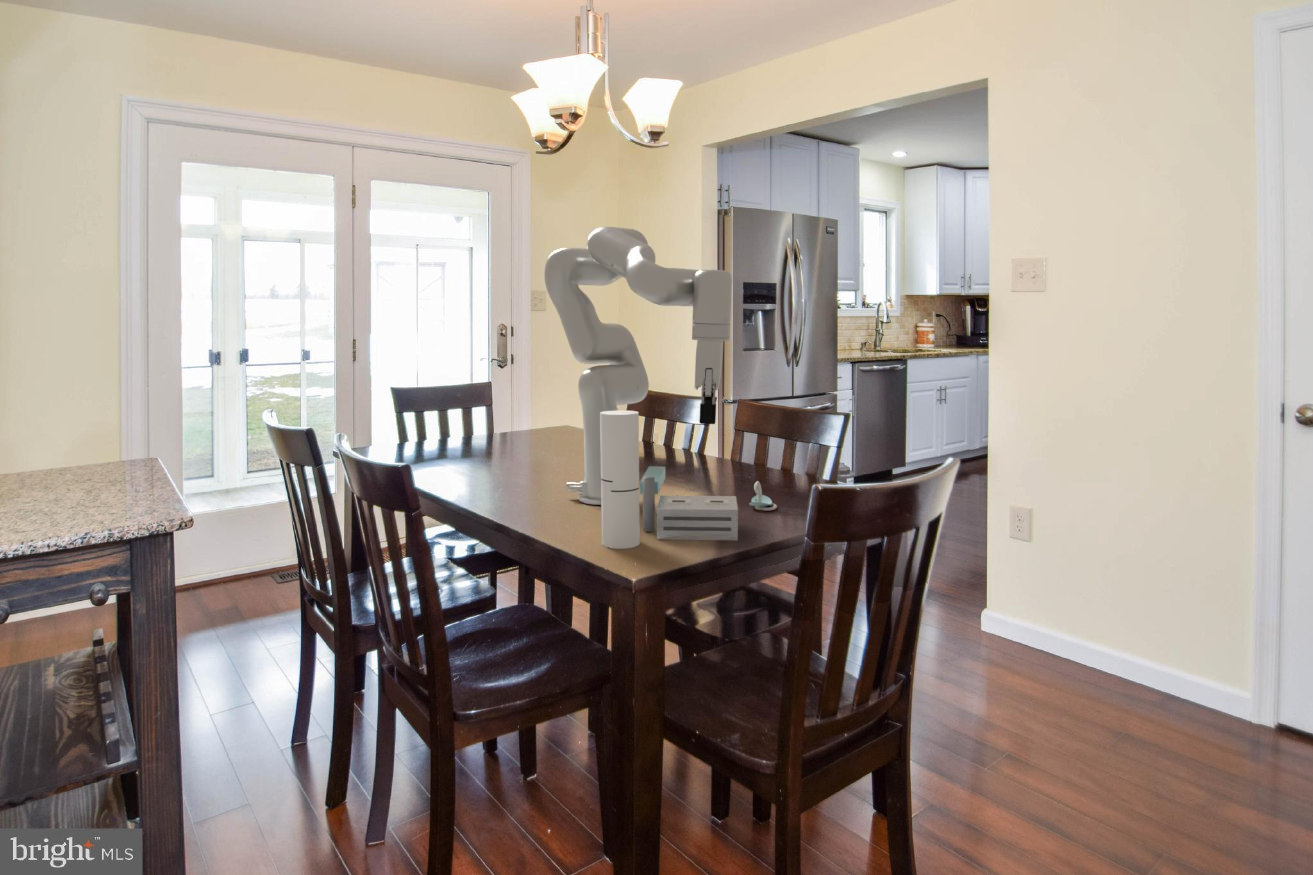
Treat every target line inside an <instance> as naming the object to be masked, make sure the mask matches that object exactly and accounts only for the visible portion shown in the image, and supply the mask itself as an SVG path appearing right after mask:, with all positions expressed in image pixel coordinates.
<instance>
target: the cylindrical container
mask: <svg viewBox="0 0 1313 875" xmlns="http://www.w3.org/2000/svg"><path fill="white" fill-rule="evenodd" d="M639 423H640V422H639V411H635V410H619V409H618V410H616V411H604V412H600V446H601V505H600V506H601V507H600V508H601V509H600V510H601V545H602V546H603V545H604V546H603V547H604V548H608V547H609V548H608V549H615V550H622V549H624V550H625V549H626V550H627V549H632V548H636V547H638V546H639V545H640V544H641V541H640V539H641V538H640V534H641V532H640V442H639V441H640V439H639V438H640V435H639V434H640V433H639V432H640V431H639V430H640V427H639V425H640V424H639Z"/></svg>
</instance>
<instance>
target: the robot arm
mask: <svg viewBox="0 0 1313 875" xmlns="http://www.w3.org/2000/svg"><path fill="white" fill-rule="evenodd" d="M543 273H544V274H543V275H544V276H543V277H544V283H545V287H546V292H547V294H548V296H549V298H550V300H551V302H552V304H553V306H554V308H555V310H556V311H557V314H558V317H559V318H560V322H561V324H562V327H563V331H564V333H565V336H566V339H567V341H568V344H569V347H570V350H571V352H572V355H573V357H574V358H575V360H576V361H577V362H578V363H580V364H583V365H594V366H590V367H588V368H587V369H585V370H584V371H582V373H581V375H580V376H579V378H578V394H579V400H580V403H581V409H582V410H581V411H582V419H583V420H582V422H583V423H582V424H583V451H584V454H583V456H584V460H583V461H584V465H583V466H584V479H583V480H580V481H579V482H575V481H574V482H573V481H570V482H568V481H567V482H566V491H570V492H579V494H578V495H577V496H578V498H577V499H578V501H579V502H581V503H583V504H587V505H593V506H594V505H595V506H601V446H600V412H604V411H616V410H619V409H618V408H619V407H618V406H622V405H625V406H626V405H632V404H637V403H639V402H642V401H643V400H645V398H646V397H647V395H648V393H649V386H650V384H649V377H648V373H647V371H646V367H645V365H644V363H643V359H642V356H641V354H640V352H639V349H638V347H637V346H638V345H637V344H636V341H635V338H634V335H632V333H631V331H630V330H629V329H628V328H627V327H626V326H624V325H622V324H619V323H610V322H609V323H606V322H605V323H604V322H602V321H601V320H600V318H599V316H598V314H597V311H596V308H595V306H594V303H593V302H592V300H591V299H590V298H589V296H588V295H587V294H586V293H585V292H584V291H583V290H582V289H581V288H580V287H579V286H602V287H603V286H608V285H611V284H613V283H615V282H617V281H618V280H620V279H622V278H624V279H625V280H626V283H627V284H628V287H629V288H630V290H631V291H632V292H633V293H635V294H636V295H637V296H640V297H641V298H643V299H645V300H646V301H649V302H651V303H652V304H655V305H658V306H663V307H677V306H678V307H692V325H691V326H692V329H691V340H692V341H696V350H695V362H694V363H695V366H694V367H695V371H694V389H695V390H699V388H701V402H700V403H699V424H703V425H716V420H717V418H716V417H717V415H716V414H717V403H716V391H718V390H719V388H720V384H721V378H722V369H723V357H724V356H723V353H724V342H728V341H730V332H731V313H732V312H731V310H732V309H731V308H732V307H731V306H732V305H731V304H732V289H733V287H732V284H733V280H732V279H733V278H732V277H733V276H732V274H731V272H729V271H728V270H724V269H723V270H722V269H700V270H699V269H690V268H689V269H687V268H680V267H679V268H678V267H677V268H676V267H664V266H661V265H659V264H657V263H656V253H655V251H654V249H653V248H652V247H651V246H650V245H649V243H648V240H647V238H646V236H645V235H644V234H643V233H642V231H641V232H640V231H639V230H637V229H633V228H626V227H625V228H624V227H616V226H602V227H598V228H596V229H594V230H593V231H592V232H591V233H590V234H589V235H588V238H587V241H586V248H584V247H583V248H582V247H562V248H558V249H556V250H553V252H551V253H550V255H549V256H548V257H547V259H546V262H545V266H544V272H543ZM599 364H601V365H599ZM603 364H604V365H603Z"/></svg>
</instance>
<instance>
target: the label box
mask: <svg viewBox="0 0 1313 875" xmlns="http://www.w3.org/2000/svg"><path fill="white" fill-rule="evenodd" d="M737 500H738V499H737V496H736V495H732V496H731V495H660V498H659V500H658V503H657V504H658V505H657V508H656V540H669V541H670V540H673V541H674V540H675V541H676V540H677V541H678V540H679V541H680V540H682V541H738V538H739V535H738V532H739V523H738V522H739V507H738V501H737Z"/></svg>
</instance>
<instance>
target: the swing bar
mask: <svg viewBox="0 0 1313 875" xmlns="http://www.w3.org/2000/svg"><path fill="white" fill-rule="evenodd" d="M665 479H666V466H659V465H658V466H655V465H654V466H653V465H652V466H648V467H647V469H646V471H645V472H644V474H643V476H642V477H641V479H640V480H639V495H642V530H643V532H653V531H655V530H656V495H659V493H660V491H661V489H662V486H663V484H664V482H665Z"/></svg>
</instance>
